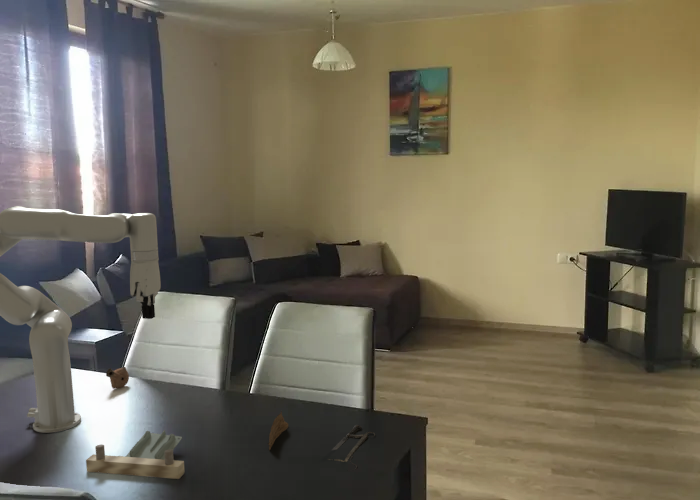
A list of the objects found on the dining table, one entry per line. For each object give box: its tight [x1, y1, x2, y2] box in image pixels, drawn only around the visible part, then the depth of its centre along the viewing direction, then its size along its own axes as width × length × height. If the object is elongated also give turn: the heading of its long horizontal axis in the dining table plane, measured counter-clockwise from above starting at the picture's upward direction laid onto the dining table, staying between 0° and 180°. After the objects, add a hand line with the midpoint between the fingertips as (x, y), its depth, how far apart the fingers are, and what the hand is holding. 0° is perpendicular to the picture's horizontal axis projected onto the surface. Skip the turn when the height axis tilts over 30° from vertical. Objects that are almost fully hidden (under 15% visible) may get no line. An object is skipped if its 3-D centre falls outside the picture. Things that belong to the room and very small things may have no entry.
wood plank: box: [267, 410, 289, 452], centre depth 172 cm, size 15×2×5 cm, turn 172°
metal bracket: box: [122, 429, 183, 460], centre depth 162 cm, size 14×6×15 cm
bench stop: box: [85, 444, 186, 480], centre depth 154 cm, size 24×3×6 cm, turn 80°
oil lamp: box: [105, 366, 130, 390], centre depth 211 cm, size 9×4×8 cm, turn 154°
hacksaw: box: [328, 424, 376, 472], centre depth 166 cm, size 24×10×1 cm, turn 156°
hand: (148, 317), depth 187 cm, fingers closed
